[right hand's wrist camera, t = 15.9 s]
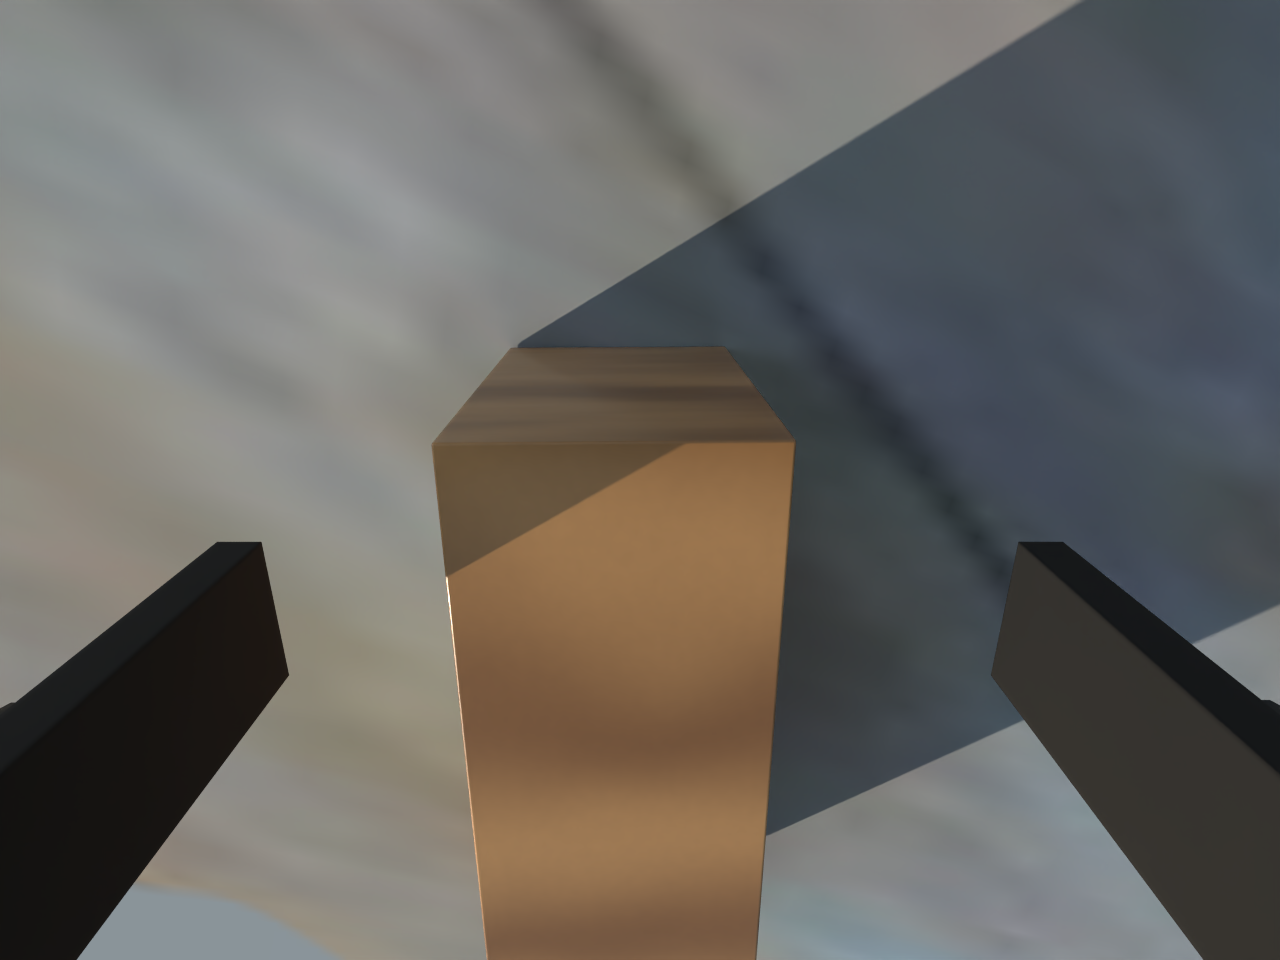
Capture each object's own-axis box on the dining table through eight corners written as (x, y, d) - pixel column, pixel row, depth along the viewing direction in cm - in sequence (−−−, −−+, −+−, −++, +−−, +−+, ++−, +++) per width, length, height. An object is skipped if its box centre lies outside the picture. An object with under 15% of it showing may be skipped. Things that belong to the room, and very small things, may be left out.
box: (509, 347, 21) (430, 443, 12) (725, 346, 21) (797, 440, 12) (543, 868, 28) (508, 1162, 19) (705, 865, 28) (741, 1156, 19)
